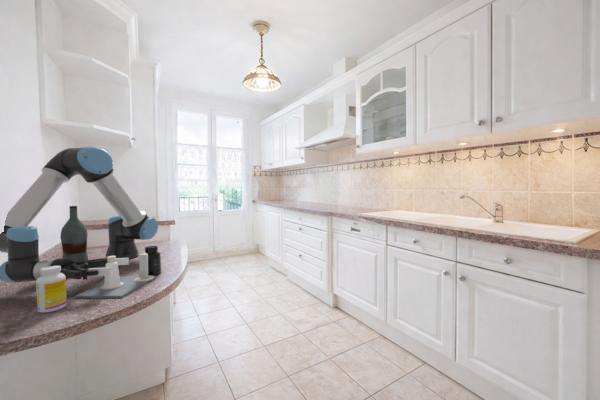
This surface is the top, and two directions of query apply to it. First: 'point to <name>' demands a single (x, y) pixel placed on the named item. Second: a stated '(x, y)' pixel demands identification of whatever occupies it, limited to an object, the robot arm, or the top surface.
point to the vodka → (74, 238)
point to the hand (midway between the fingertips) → (119, 265)
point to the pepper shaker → (112, 273)
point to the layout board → (122, 283)
